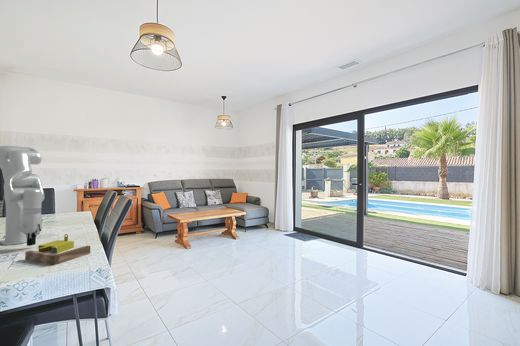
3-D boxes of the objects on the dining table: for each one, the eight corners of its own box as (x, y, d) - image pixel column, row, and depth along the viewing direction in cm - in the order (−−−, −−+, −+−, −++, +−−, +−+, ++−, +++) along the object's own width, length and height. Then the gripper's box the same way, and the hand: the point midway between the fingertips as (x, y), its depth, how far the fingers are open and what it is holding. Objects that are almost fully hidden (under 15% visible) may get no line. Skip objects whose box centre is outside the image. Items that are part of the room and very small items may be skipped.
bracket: (26, 240, 126) (53, 233, 141) (25, 255, 126) (53, 247, 141) (54, 241, 124) (78, 234, 139) (53, 257, 124) (78, 248, 139)
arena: (25, 260, 118) (25, 251, 118) (63, 249, 135) (63, 242, 135) (54, 264, 113) (54, 256, 113) (90, 253, 130) (90, 245, 130)
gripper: (14, 211, 135) (13, 245, 134) (34, 213, 131) (33, 248, 130) (30, 209, 142) (29, 242, 142) (49, 211, 138) (48, 244, 138)
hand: (31, 244), depth 136 cm, fingers closed
